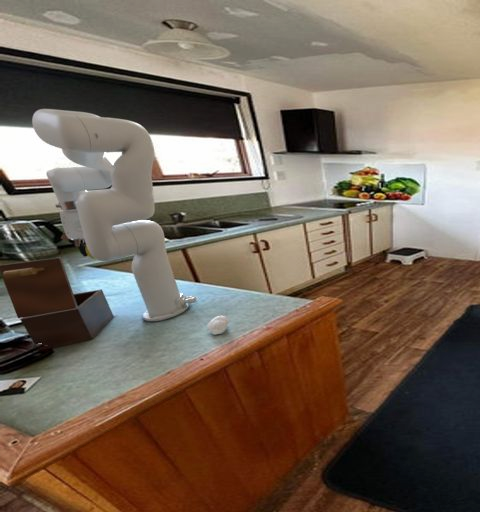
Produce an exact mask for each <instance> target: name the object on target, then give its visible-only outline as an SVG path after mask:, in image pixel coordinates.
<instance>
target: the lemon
mask: <svg viewBox="0 0 480 512" xmlns="http://www.w3.org/2000/svg"><path fill="white" fill-rule="evenodd" d="M85 250H86V253H87V255H88V256H87V257H88V258H89V259H92V260H95V261H98V260H97V259H95V258H94V257H93V256H92V255H91V254H90V252H89V250H88V248H87V245H86V247H85Z"/></svg>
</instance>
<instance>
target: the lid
mask: <svg viewBox="0 0 480 512" xmlns="http://www.w3.org/2000/svg"><path fill="white" fill-rule="evenodd" d="M66 271H67V270H66V268H65V265H64V262H63V258H62V257H53V258H45V259H39V260H38V259H37V260H29V261H22V262H15V263H14V262H13V263H7V264H6V263H5V264H0V275H1V278H2V281H3V283H4V285H5V289H6V291H7V293H8V296H9V299H10V301H11V304H12V306H13V309H14V311H15V314H16V317H17V319H21V318H23V317H28V316H34V315H39V314H45V313H50V312H56V311H61V310H67V309H73V308H77V307H78V306H77V303H76V300H75V297H74V294H75V293H74V291H73V289H72V286H71V283H70V280H69V277H68V274H67V272H66Z"/></svg>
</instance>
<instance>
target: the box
mask: <svg viewBox="0 0 480 512" xmlns="http://www.w3.org/2000/svg"><path fill="white" fill-rule="evenodd" d="M73 294H74V297H75V300H76V303H77V306H78V307H77V308H73V309H67V310H61V311H56V312H50V313H45V314H39V315H34V316H28V317H23V318H19V319H20V322H21V324H22V325H23V327H24V329H25V330H26V332H27V334H28V335H29V337H30V339H31V341H32V342H33V344H34V345H35V344H38V343H42V344H44V345H48V346H44V347H40V348H38V349H37V351H38V352H39V351H45V350H49V349H53V348H58V347H61V346H62V347H63V346H67V345H72V344H78V343H82V342H87V341H90V340H93V339H94V338H95V337H96V336H97V335H98V334H99V333H100V332H101V331H102V330H103V329H104V328H105V327H106V326H107V325H108V324H109V323H110V322H111V320H112V319H114V316H115V315H114V313H113V312H112V309H111V307H110V305H109V302H108V300H107V298H106V296H105V294H104V291H103V289H96V290H90V291H84V292H78V293H77V292H76V293H73Z"/></svg>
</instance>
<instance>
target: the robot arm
mask: <svg viewBox="0 0 480 512" xmlns="http://www.w3.org/2000/svg"><path fill="white" fill-rule="evenodd" d="M31 123H32V128H33V130H34V132H35V134H36V135H37V136H38V138H39V139H40V140H41V141H42V142H44V143H46V144H47V145H49V146H52V147H55V148H58V149H61V151H62V154H63V155H64V156H65V157H66V159H68V160H69V161H71V162H73V163H74V164H77V165H79V166H73V167H72V166H71V167H55V168H52V169H49V170H47V171H46V177H47V179H48V182H49V184H50V186H51V188H52V191H53V193H54V195H55V197H56V199H57V201H58V203H55V205H54V206H55V208H56V209H61V211H59V217H60V221H61V225H62V229H63V231H64V232H63V234H62V236H61V237H60V239H61V240H62V241H64V242H68V243H69V244H72V245H74V246H75V247H77V248H78V250H79V253H80V254H81V255H82V257H84V258H85V257H89V256H88V255H87V253H86V250H85V247H86V245H87V248H88V250H89V252H90V254H91V255H92V256H93V257H94V258H95V259H97V260H96V261H99V262H110V261H115V260H119V259H124V258H127V257H131V256H133V258H132V261H131V272H132V274H133V278H134V280H135V283H136V285H137V288H138V290H139V293H140V295H141V298H142V300H143V303H144V305H145V308H146V311H144V312H143V314H142V317H143V320H144V321H147V322H159V321H165V320H168V319H171V318H174V317H176V316H179V315H180V314H182V313H184V312H185V311H186V310H188V308H189V307H190V304H195V303H197V302H198V300H197V297H196V296H194V295H188V296H185V294H184V293H183V292H180V290H179V288H178V285H177V281H176V278H175V275H174V272H173V269H172V266H171V262H170V260H169V257H168V252H167V247H166V239H165V238H166V237H165V233H164V230H163V228H162V226H161V225H160V224H158V223H157V222H156V221H151V220H147V219H150V218H152V217H153V216H154V215H155V211H156V205H155V195H154V185H153V178H152V177H153V176H152V173H153V165H154V162H155V161H154V159H155V147H154V143H153V140H152V137H151V135H150V133H149V132H148V130H147V129H146V128H145V127H144V126H143V125H141V124H140V123H137V122H136V121H132V120H128V119H123V118H116V117H115V118H114V117H104V116H99V115H97V114H95V113H91V112H86V111H85V112H84V111H75V110H63V109H55V108H40V109H38V110H36V111H35V112H34V113H33V115H32V119H31ZM106 153H107V154H108V153H121V155H120V156H118V158H116V159H115V161H114V162H112V161H111V159H110V158H109V157H108V156H107V155H106ZM95 259H94V260H95Z"/></svg>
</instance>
